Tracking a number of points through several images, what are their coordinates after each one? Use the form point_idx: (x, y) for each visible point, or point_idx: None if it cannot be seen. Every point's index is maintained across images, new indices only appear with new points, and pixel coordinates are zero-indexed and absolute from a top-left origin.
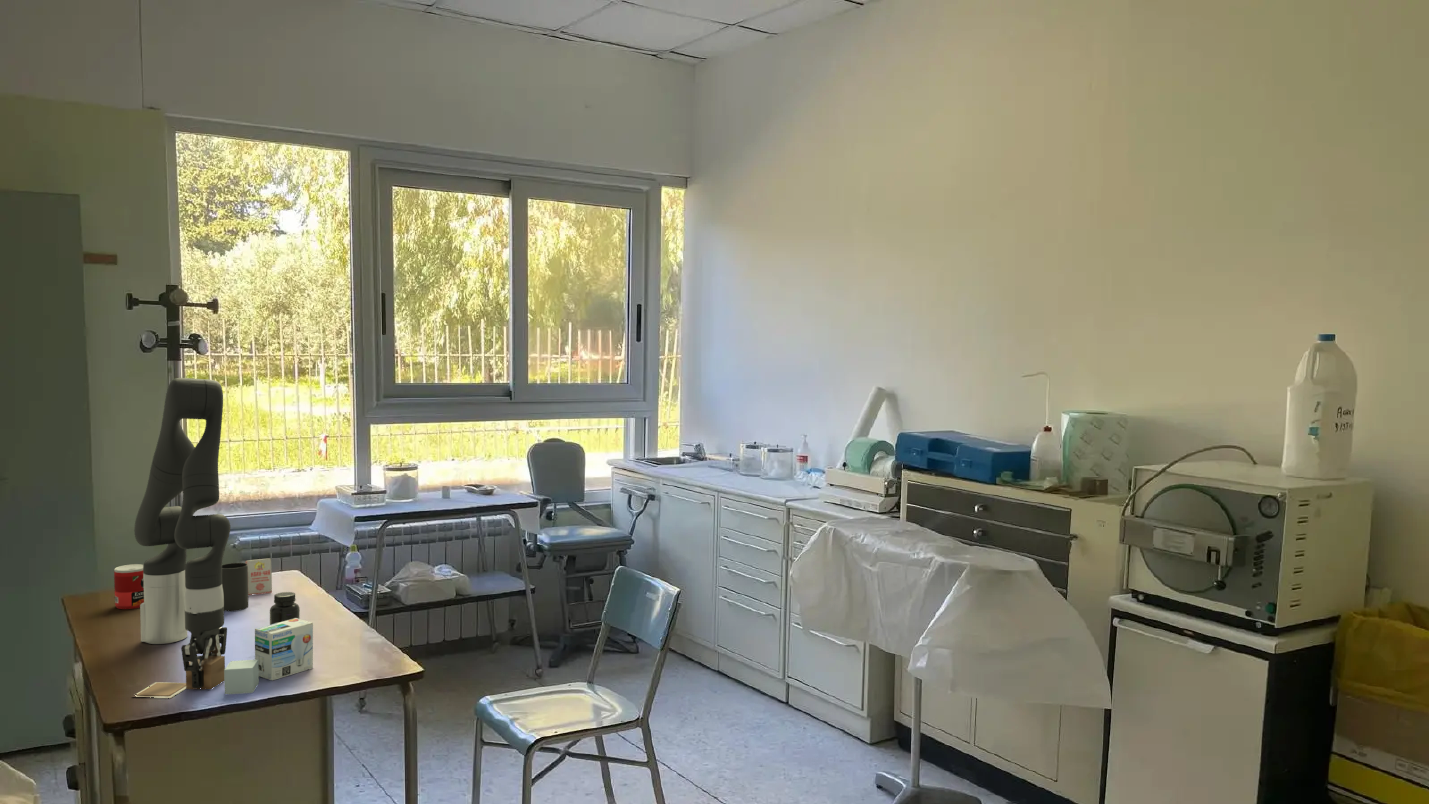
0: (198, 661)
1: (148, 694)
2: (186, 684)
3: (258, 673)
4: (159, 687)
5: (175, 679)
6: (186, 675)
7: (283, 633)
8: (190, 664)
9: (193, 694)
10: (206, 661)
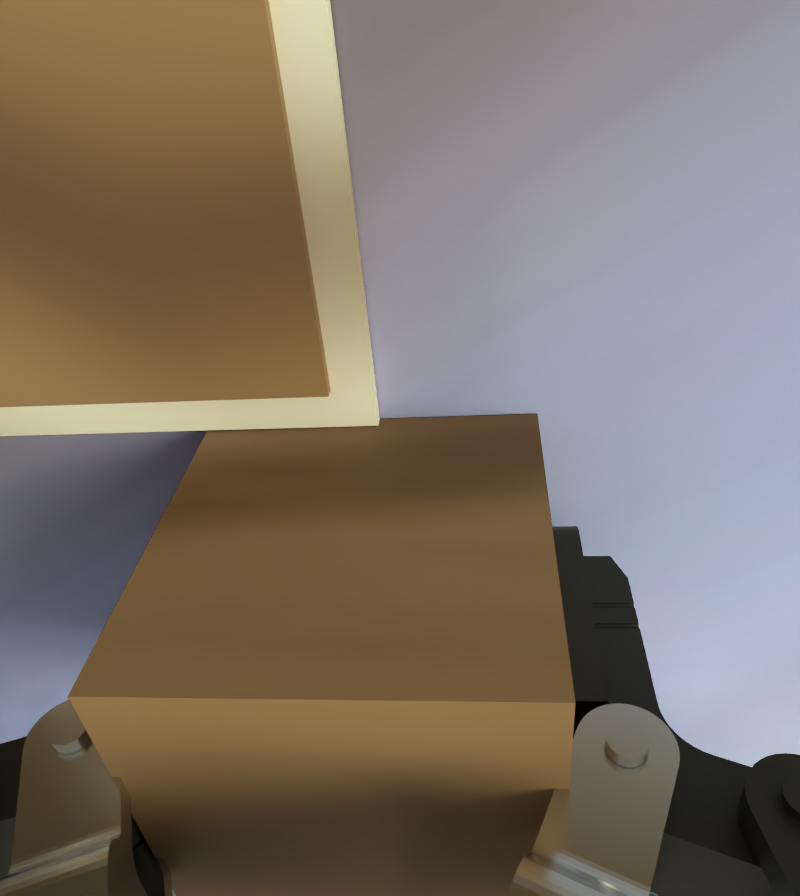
0: (253, 792)
1: None
2: (196, 462)
3: None
4: (62, 75)
5: (549, 15)
6: (148, 552)
7: None
8: (22, 803)
9: (110, 563)
10: (287, 861)
